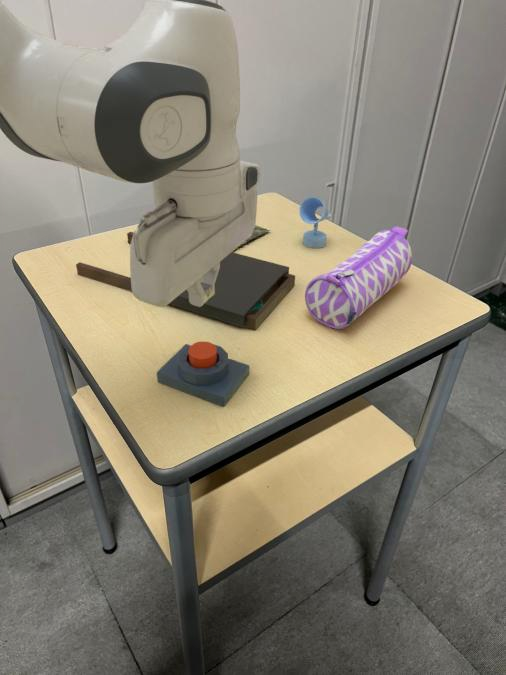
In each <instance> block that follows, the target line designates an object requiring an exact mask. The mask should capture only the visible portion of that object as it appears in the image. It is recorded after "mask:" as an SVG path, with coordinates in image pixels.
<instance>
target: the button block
mask: <svg viewBox="0 0 506 675" xmlns="http://www.w3.org/2000/svg"><path fill="white" fill-rule="evenodd" d="M191 345H192V344H189V343H185V344H184V345H182V347H181V348H180V349H179V350H178V351H177V352H176V353H175V354H174V355H173V356H171V358H170V359H169V360H168V361H166V362H165V363H164V365H162V367H160V369H158V370H157V371H156V378H157V380H156V381H157V383H159V384H162V385H165V386H167V387H170V388H173V389H175V390H178V391H181V392H183V393H186V394H188V395H191V396H194V397H197V398H199V399H201V400H204V401H207V402H209V403H212V404H215V405H217V406H219V407H222V408H224V407H225V406H226V405H227V404H228V402H229V401H230V400H231V399H232V397H233V396H234V395H235V394H236V393H237V391H238V390H239V389H240V387H241V386H242V385H243V384H244V382H245V381H246V380H247V378H249V376H250V365H249V364H246V363H243V362H240V361H237V360H234V359H231V358H229V353H228V352H227V351H226V350H225V349H224V348H223V347H222V346H221V345H217V344H214V345H215V346H216V348H217V362H216V364H215V365H214V366H212V367H210V368H206V369H198V368H195V367H192V366H191V365H190V363H189V351H188V350H189V348H190V346H191Z"/></svg>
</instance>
